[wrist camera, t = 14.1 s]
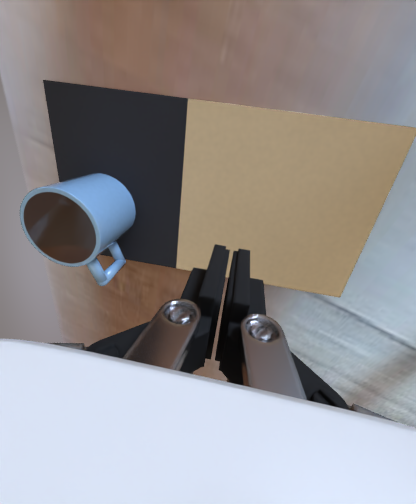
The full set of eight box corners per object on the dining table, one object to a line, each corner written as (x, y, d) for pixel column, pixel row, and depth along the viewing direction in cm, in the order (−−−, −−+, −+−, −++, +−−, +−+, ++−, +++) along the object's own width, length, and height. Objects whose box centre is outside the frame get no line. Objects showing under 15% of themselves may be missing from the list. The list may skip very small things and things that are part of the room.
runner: (417, 128, 20) (419, 128, 20) (339, 296, 29) (340, 297, 28) (44, 80, 23) (43, 80, 23) (71, 248, 31) (70, 249, 31)
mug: (62, 183, 27) (2, 200, 20) (118, 164, 25) (72, 175, 18) (105, 263, 31) (66, 299, 24) (155, 252, 29) (129, 287, 22)
